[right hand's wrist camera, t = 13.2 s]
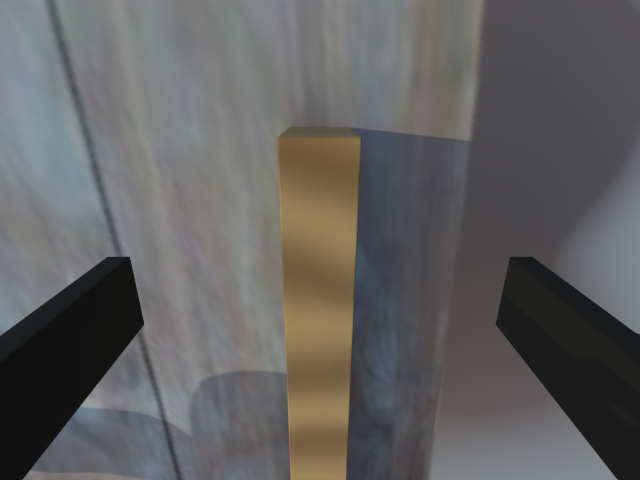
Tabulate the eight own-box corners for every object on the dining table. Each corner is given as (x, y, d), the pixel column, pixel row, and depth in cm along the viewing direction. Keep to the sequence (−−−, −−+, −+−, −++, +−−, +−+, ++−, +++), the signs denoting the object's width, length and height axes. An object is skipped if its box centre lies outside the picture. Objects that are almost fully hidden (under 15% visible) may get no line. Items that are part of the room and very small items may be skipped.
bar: (288, 127, 30) (277, 137, 21) (349, 127, 30) (361, 137, 21) (301, 593, 55) (298, 680, 47) (334, 593, 55) (337, 680, 47)
